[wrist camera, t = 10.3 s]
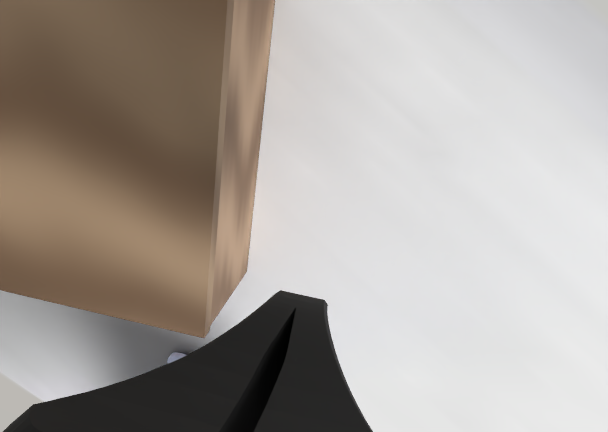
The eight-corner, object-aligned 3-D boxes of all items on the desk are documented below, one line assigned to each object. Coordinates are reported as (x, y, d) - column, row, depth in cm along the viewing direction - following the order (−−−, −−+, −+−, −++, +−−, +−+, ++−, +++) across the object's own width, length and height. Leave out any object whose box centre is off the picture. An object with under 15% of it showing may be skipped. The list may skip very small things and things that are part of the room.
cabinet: (246, 275, 22) (204, 338, 17) (73, 238, 23) (-16, 286, 18) (278, -35, 17) (233, -83, 12) (56, -63, 18) (-75, -117, 13)
